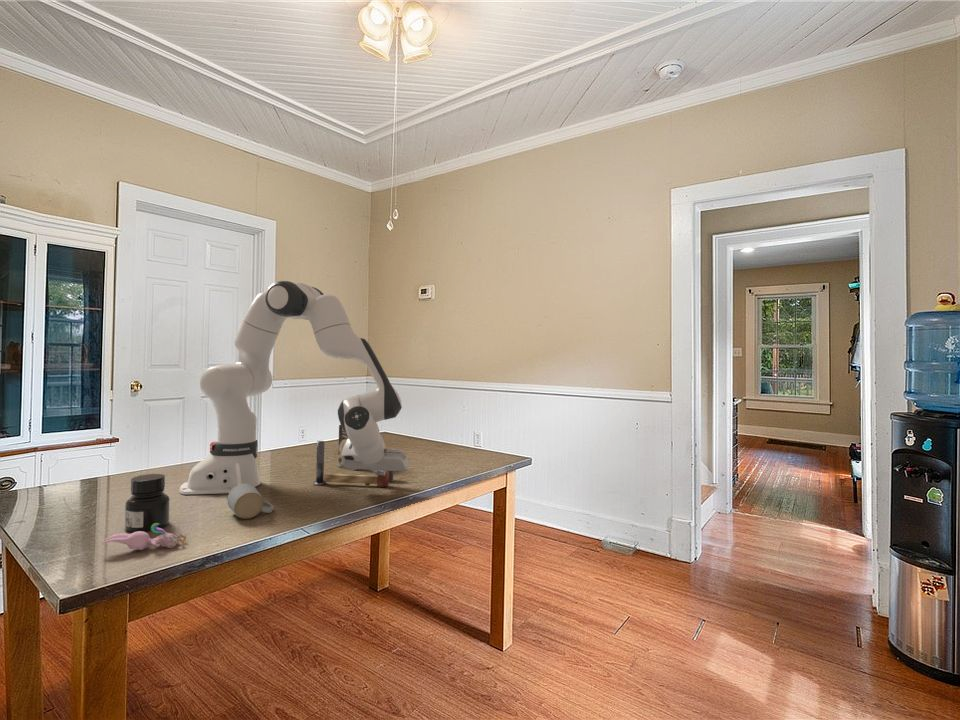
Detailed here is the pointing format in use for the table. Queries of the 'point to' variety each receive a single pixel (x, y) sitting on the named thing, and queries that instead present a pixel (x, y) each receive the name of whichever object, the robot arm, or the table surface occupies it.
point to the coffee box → (342, 440)
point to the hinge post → (320, 464)
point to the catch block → (390, 475)
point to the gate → (358, 479)
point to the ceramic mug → (247, 502)
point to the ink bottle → (147, 503)
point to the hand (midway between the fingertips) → (381, 473)
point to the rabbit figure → (147, 539)
